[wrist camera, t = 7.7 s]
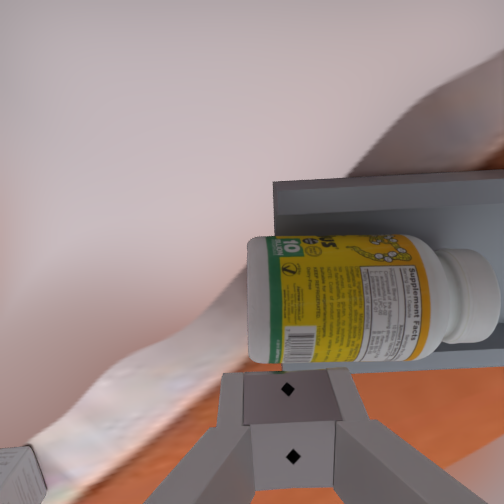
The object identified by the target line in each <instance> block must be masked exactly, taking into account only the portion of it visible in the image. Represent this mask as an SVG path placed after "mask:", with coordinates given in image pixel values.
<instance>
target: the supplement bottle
mask: <svg viewBox="0 0 504 504" xmlns="http://www.w3.org/2000/svg"><path fill="white" fill-rule="evenodd" d="M247 251H248V253H247V321H248V354H249V357H250V359H251V360H253V361H254V362H257V363H310V362H372V361H412V360H419V359H422V358H424V357H426V356H428V355H430V354H431V353H432V352H433V351H434V350H435V349H436V348H437V347H438V346H439V344H440V343H441V342H445V343H448V344H456V343H475V342H480V341H483V340H485V339H486V338H488V337H489V336H490V335H491V334H492V332H493V331H494V329H495V327H496V325H497V323H498V319H499V315H500V309H501V294H500V288H499V285H498V280H497V277H496V274H495V272H494V270H493V268H492V266H491V265H490V263H489V262H488V261H487V259H486V258H484V257H483V256H482V255H481V254H480V253H478V252H476V251H474V250H471V249H447V248H443V249H439V250H437V251H433V250H432V249H431V248H430V247H429V246H428V245H427V244H426V243H425V242H423V241H422V240H420V239H418V238H416V237H414V236H410V235H403V234H393V235H326V236H267V237H255V238H253V239H251V240H250V241H249V242H248V244H247Z"/></svg>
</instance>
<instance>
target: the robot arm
mask: <svg viewBox="0 0 504 504" xmlns="http://www.w3.org/2000/svg"><path fill="white" fill-rule="evenodd" d="M319 487H334V491H335V492H336V493H337V495H338V496H339V497H340V498H341V500H342V501H343V502H344V503H345V504H488V503H486V502H485V501H484V500H482V499H481V498H480V497H478V496H477V495H476V494H475V493H473V492H472V491H471V490H469V489H468V488H467V487H465V486H464V485H462V484H461V483H460V482H459V481H457V480H456V479H455V478H453V477H452V476H451V475H449V474H448V473H447V472H445V471H444V470H443V469H441V468H440V467H439V466H437V465H436V464H435V463H433V462H432V461H431V460H429V459H428V458H427V457H426V456H424V455H423V454H422V453H420V452H419V451H418V450H416V449H415V448H414V447H412V446H411V445H410V444H408V443H407V442H406V441H404V440H403V439H402V438H400V437H399V436H398V435H396V434H395V433H394V432H392V431H391V430H390V429H388V428H387V427H386V426H384V425H383V424H382V423H380V422H379V421H378V420H370V419H369V416H368V414H367V412H366V409H365V407H364V405H363V402H362V400H361V397H360V395H359V393H358V390H357V388H356V386H355V383H354V381H353V378H352V376H351V374H350V371H349V369H348V368H346V367H338V368H325V369H316V370H298V371H269V372H244V373H243V372H241V373H223V376H222V379H221V389H220V398H219V408H218V417H217V426H216V427H213V428H209V429H208V430H207V431H206V433H205V434H204V435H203V436H202V437H201V438H200V439H199V441H198V442H197V443H196V444H195V445H194V446H193V447H192V449H191V450H190V451H189V452H188V453H187V454H186V455H185V456H184V458H183V459H182V460H181V461H180V462H179V463H178V464H177V466H176V467H175V468H174V469H173V470H172V471H171V472H170V474H169V475H168V476H167V477H166V478H165V479H164V480H163V481H162V483H161V484H160V485H159V486H158V487H157V488H156V489H155V491H154V492H153V493H152V494H151V495H150V496H149V497H148V499H147V500H146V501H145V502H144V503H143V504H250V503H251V501H252V499H253V497H254V495H255V491H260V490H273V489H286V488H319Z"/></svg>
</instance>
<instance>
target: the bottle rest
mask: <svg viewBox="0 0 504 504" xmlns="http://www.w3.org/2000/svg"><path fill="white" fill-rule="evenodd" d="M273 199H274V229H275V230H274V232H275V236H326V235H393V234H403V235H410V236H414V237H416V238H418V239H420V240H422V241H423V242H425V243H426V244H427V245H428V246H429V247H430V248H431V249H432V250H433V251H437V250H439V249H443V248H447V249H471V250H474V251H476V252H478V253H480V254H481V255H482V256H483V257H484V258H486V259H487V261H488V262H489V263H490V265H491V266H492V268H493V270H494V272H495V274H496V277H497V280H498V285H499V288H500V294H501V309H500V315H499V319H498V323H497V325H496V327H495V329H494V331H493V332H492V334H491V335H490V336H489V337H488V338H486V339H485V340H483V341H480V342H475V343H456V344H448V343H445V342H441V343H440V344H439V346H438V347H437V348H436V349H435V350H434V351H433V352H432V353H431V354H430V355H428V356H426V357H424V358H422V359H419V360H412V361H372V362H310V363H281V366H282V371H298V370H316V369H325V368H338V367H346V368H348V369H349V371H350V374H355V373H376V372H396V371H417V370H438V369H458V368H479V367H500V366H504V169H499V170H480V171H462V172H443V173H425V174H407V175H388V176H370V177H352V178H334V179H315V180H297V181H278V182H273Z"/></svg>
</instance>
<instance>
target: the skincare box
mask: <svg viewBox="0 0 504 504" xmlns="http://www.w3.org/2000/svg"><path fill="white" fill-rule="evenodd" d="M45 495H46V487H45V484H44V480H43V477H42V474H41V471H40V469H39V466H38V463H37V460H36V458H35V456H34V453H33V451H32V449H31V448H30V447H29V446H25V447H14V448H2V449H0V504H41V502H42V501H43V499H44V497H45Z"/></svg>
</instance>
